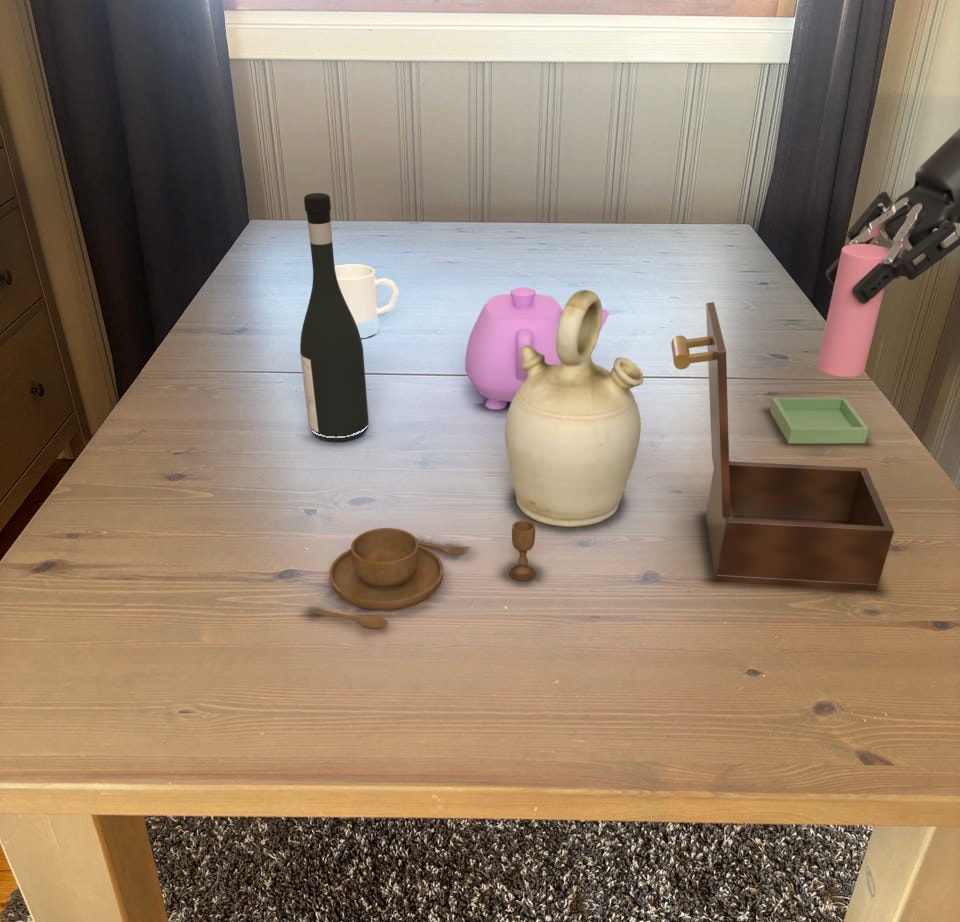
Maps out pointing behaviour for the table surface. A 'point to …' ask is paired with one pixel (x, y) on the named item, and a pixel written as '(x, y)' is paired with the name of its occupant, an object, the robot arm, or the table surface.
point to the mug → (363, 291)
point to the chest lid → (712, 396)
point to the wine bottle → (330, 341)
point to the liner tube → (851, 314)
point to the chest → (799, 527)
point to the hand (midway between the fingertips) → (844, 288)
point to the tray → (818, 420)
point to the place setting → (402, 570)
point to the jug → (573, 425)
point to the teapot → (511, 342)
